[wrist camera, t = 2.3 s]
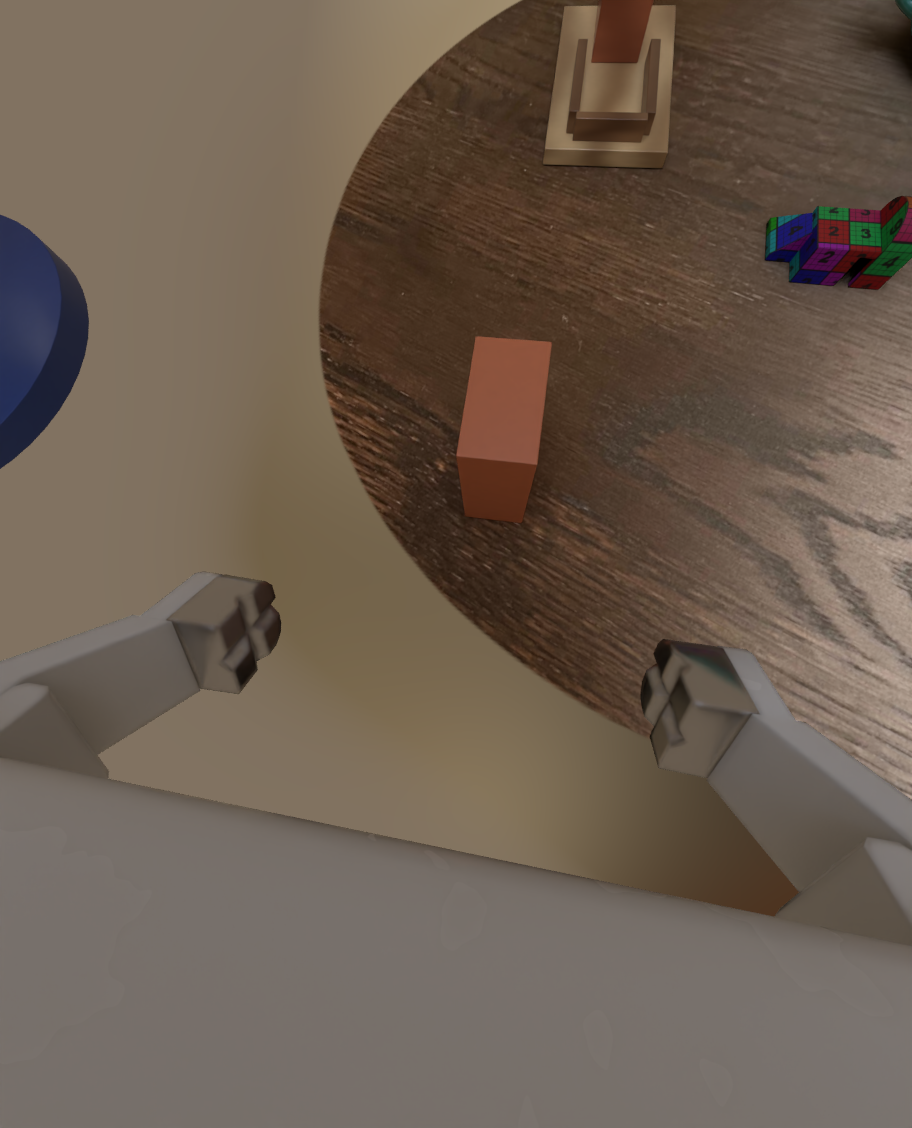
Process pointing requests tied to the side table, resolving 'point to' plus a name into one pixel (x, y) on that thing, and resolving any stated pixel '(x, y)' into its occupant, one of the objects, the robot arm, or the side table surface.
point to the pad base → (612, 86)
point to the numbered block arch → (843, 243)
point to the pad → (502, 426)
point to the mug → (906, 8)
